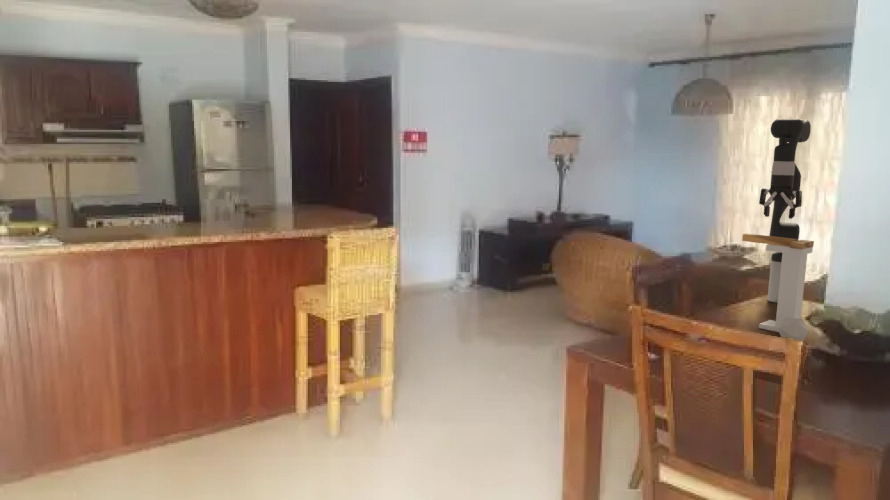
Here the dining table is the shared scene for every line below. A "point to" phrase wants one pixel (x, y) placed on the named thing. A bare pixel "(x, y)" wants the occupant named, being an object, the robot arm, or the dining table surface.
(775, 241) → the t bar
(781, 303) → the i beam
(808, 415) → the dining table surface
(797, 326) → the die
